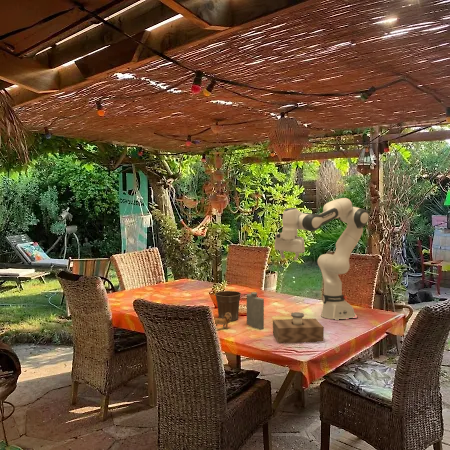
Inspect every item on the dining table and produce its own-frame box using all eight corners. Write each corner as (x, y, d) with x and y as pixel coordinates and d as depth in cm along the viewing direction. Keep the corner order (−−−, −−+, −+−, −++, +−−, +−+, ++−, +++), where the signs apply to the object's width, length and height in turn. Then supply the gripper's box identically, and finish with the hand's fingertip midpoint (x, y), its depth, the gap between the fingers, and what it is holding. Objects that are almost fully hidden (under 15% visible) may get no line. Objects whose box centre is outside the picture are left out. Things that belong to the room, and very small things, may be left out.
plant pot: (211, 317, 294) (211, 291, 292) (235, 314, 300) (234, 289, 298) (220, 323, 278) (220, 297, 277) (245, 320, 284) (245, 294, 283)
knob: (302, 324, 254) (302, 312, 254) (305, 328, 247) (305, 315, 247) (289, 324, 254) (290, 312, 253) (292, 328, 247) (292, 315, 246)
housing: (315, 332, 260) (315, 318, 259) (323, 341, 244) (323, 326, 243) (272, 334, 258) (272, 319, 257) (278, 343, 242) (278, 328, 241)
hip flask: (264, 329, 267) (264, 294, 266) (258, 330, 265) (258, 295, 264) (250, 322, 281) (250, 289, 280) (244, 323, 279) (244, 290, 278)
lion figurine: (228, 326, 274) (228, 311, 273) (233, 328, 269) (233, 313, 269) (207, 330, 266) (207, 314, 265) (211, 332, 261) (211, 316, 261)
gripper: (307, 236, 264) (306, 260, 265) (280, 234, 279) (279, 256, 280) (300, 237, 260) (299, 261, 261) (273, 234, 275) (272, 257, 276)
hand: (289, 259), depth 271 cm, fingers open, 8 cm apart
